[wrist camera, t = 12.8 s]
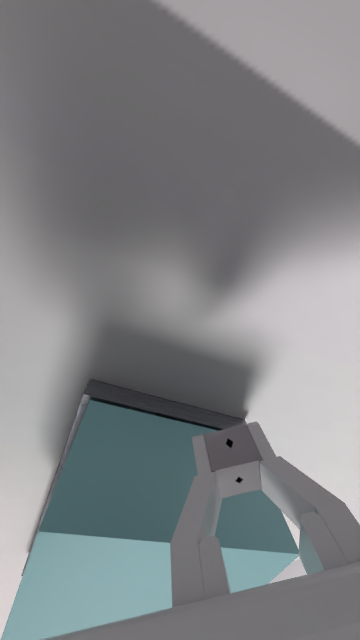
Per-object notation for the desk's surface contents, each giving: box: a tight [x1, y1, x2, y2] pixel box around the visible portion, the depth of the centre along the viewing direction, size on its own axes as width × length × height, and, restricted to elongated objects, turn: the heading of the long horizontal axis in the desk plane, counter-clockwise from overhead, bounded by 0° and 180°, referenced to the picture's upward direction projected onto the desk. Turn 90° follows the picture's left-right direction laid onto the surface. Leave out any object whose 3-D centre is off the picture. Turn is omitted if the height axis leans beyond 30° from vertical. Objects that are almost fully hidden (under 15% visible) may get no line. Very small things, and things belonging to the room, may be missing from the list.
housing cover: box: [1, 400, 299, 640], centre depth 14 cm, size 12×12×6 cm
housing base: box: [21, 380, 246, 576], centre depth 18 cm, size 24×13×6 cm, turn 156°
